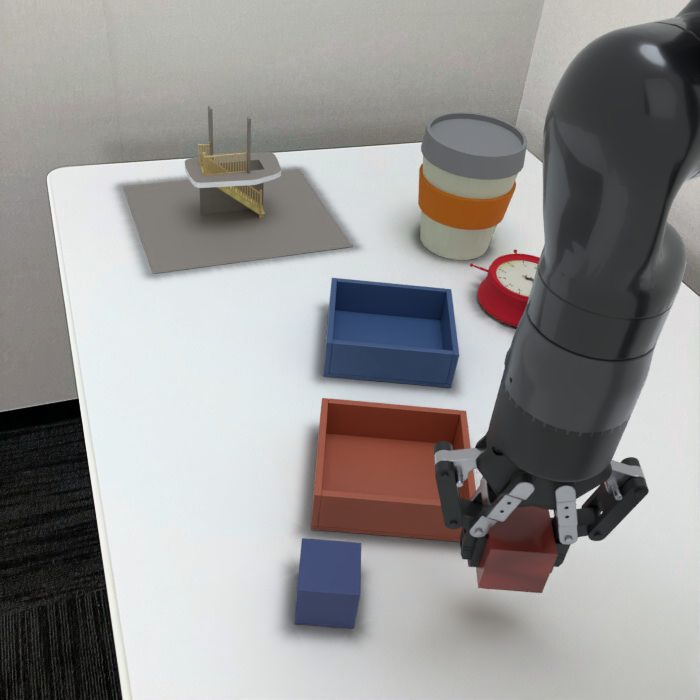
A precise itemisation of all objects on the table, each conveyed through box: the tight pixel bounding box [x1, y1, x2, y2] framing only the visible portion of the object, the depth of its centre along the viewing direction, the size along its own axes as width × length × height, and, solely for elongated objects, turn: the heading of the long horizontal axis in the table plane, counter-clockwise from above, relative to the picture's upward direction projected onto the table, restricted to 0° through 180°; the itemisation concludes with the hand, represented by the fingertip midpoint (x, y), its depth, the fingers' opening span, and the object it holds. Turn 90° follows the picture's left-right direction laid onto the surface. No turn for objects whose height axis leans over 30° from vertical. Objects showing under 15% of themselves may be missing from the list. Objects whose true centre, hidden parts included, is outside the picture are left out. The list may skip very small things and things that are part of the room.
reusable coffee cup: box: [417, 111, 528, 261], centre depth 96 cm, size 13×12×15 cm
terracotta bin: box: [310, 397, 477, 543], centre depth 67 cm, size 13×11×4 cm
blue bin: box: [322, 277, 460, 389], centre depth 82 cm, size 13×11×4 cm
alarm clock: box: [469, 249, 540, 328], centre depth 89 cm, size 10×6×15 cm
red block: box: [475, 506, 558, 594], centre depth 54 cm, size 4×4×4 cm
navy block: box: [293, 537, 362, 629], centre depth 58 cm, size 4×4×4 cm
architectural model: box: [122, 105, 354, 275], centre depth 96 cm, size 21×25×14 cm
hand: (508, 559), depth 55 cm, fingers closed on red block, 4 cm apart
